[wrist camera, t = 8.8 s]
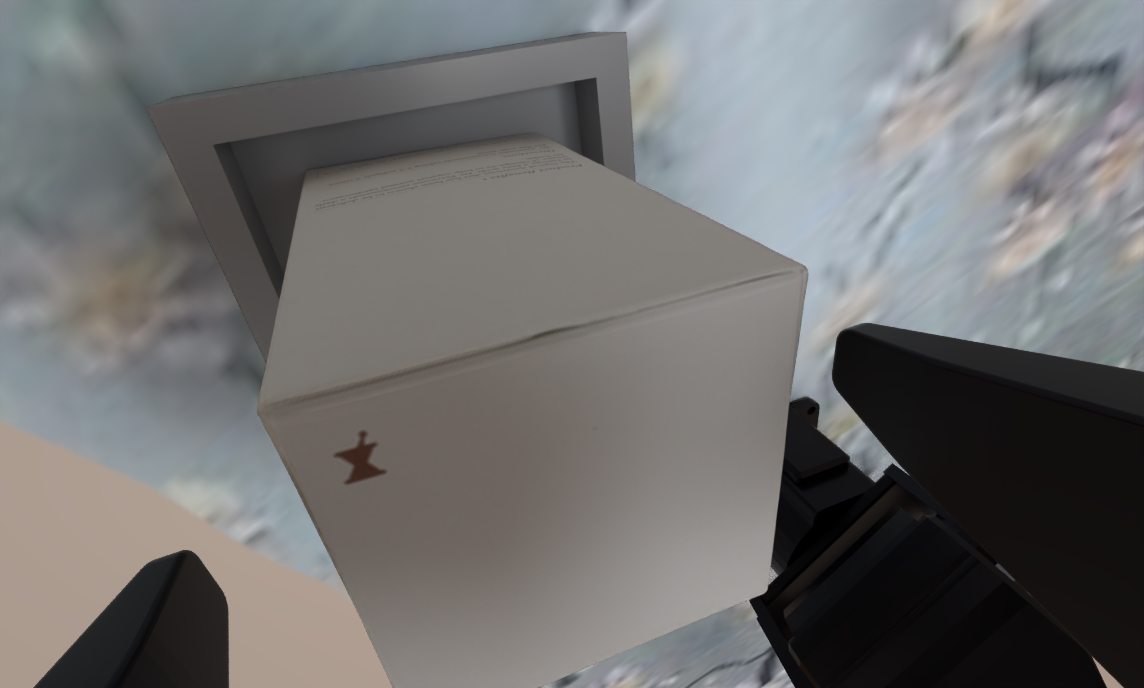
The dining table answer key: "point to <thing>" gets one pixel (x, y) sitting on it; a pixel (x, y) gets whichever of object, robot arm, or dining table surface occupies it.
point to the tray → (377, 136)
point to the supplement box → (528, 406)
